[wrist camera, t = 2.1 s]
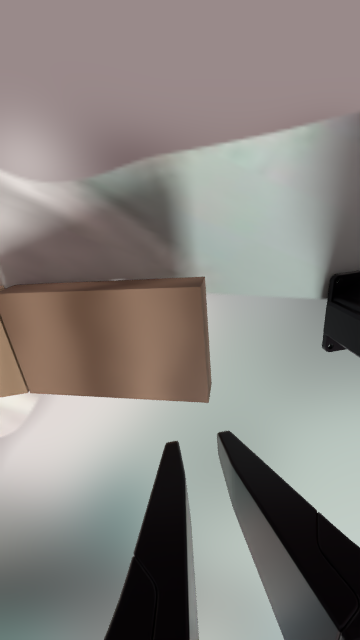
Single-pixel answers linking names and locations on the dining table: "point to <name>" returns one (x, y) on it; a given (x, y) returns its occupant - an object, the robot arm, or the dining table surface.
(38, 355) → the tan flat wooden block
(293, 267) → the dining table surface
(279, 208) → the dining table surface
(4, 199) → the dining table surface
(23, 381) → the oak plank
